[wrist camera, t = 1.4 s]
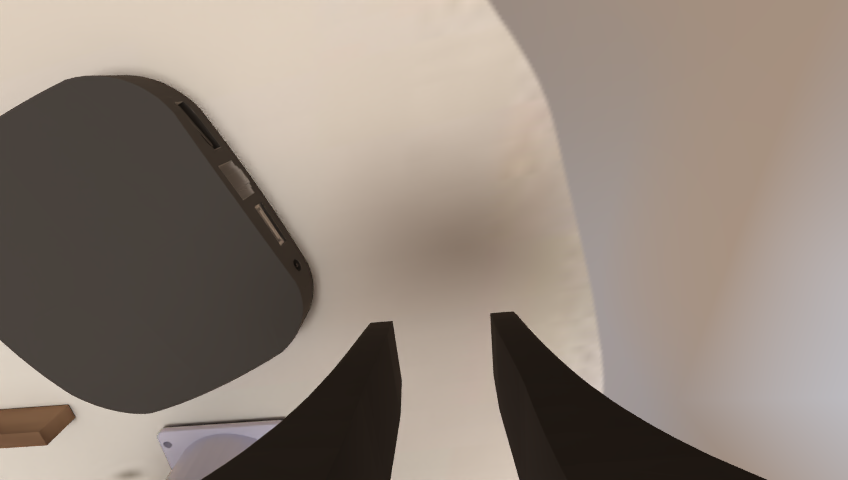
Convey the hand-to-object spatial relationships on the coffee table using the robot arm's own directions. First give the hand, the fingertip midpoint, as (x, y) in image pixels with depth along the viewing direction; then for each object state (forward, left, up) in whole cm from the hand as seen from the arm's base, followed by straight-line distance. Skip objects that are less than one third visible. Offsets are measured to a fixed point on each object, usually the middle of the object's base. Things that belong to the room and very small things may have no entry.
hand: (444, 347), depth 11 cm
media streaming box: (0, +15, -10) cm, 18 cm away
